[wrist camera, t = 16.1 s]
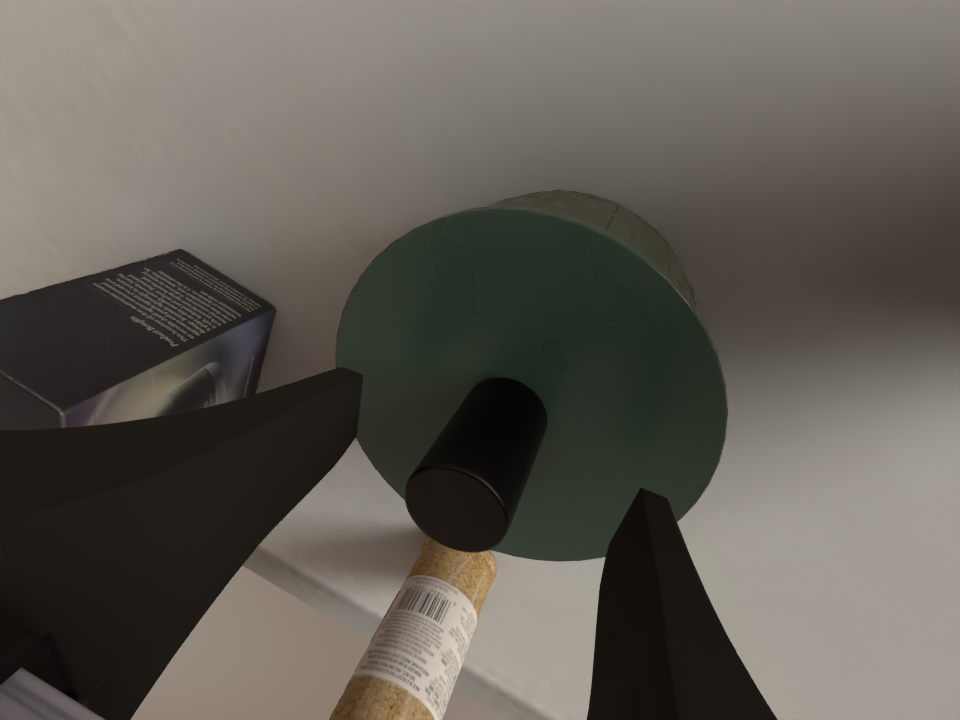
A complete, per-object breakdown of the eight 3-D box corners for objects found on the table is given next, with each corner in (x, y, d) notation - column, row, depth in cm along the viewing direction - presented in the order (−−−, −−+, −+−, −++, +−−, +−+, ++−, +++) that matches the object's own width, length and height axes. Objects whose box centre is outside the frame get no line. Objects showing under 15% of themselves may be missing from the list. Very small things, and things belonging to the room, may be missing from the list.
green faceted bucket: (610, 127, 16) (583, 131, 10) (741, 382, 18) (777, 498, 12) (393, 275, 21) (297, 329, 15) (515, 459, 23) (469, 564, 18)
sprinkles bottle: (419, 562, 29) (261, 849, 18) (434, 513, 27) (263, 806, 15) (488, 597, 28) (370, 919, 17) (509, 549, 26) (389, 886, 14)
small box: (250, 445, 29) (73, 586, 20) (165, 390, 30) (-45, 504, 21) (284, 308, 24) (58, 420, 15) (177, 243, 24) (-103, 314, 15)
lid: (591, 101, 10) (541, 87, 6) (794, 488, 13) (862, 676, 8) (293, 319, 16) (158, 393, 12) (473, 562, 18) (415, 698, 14)
